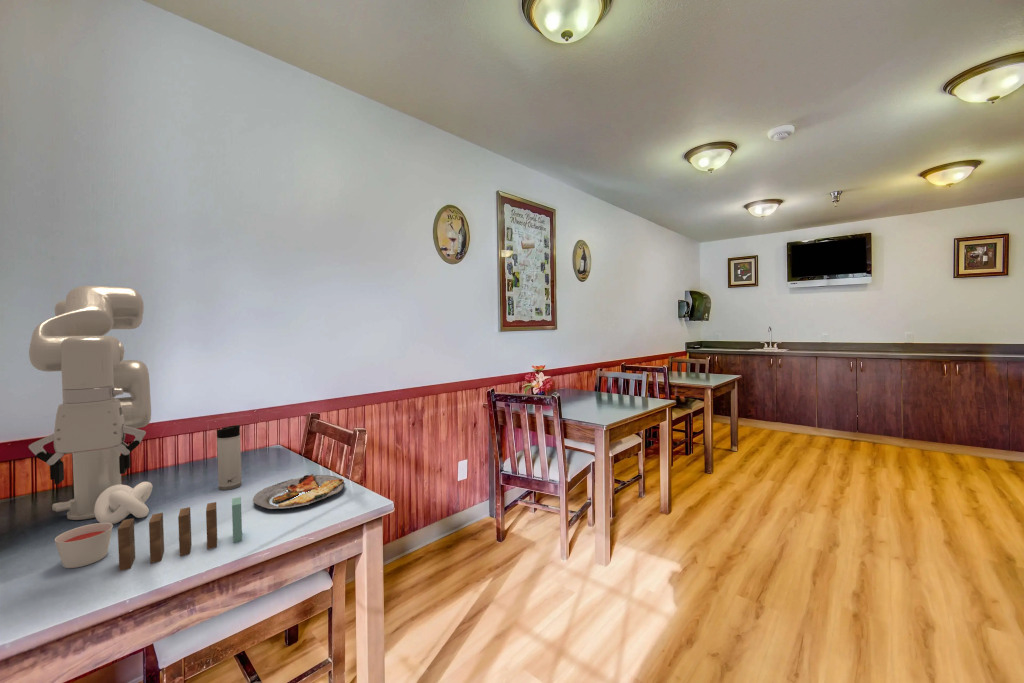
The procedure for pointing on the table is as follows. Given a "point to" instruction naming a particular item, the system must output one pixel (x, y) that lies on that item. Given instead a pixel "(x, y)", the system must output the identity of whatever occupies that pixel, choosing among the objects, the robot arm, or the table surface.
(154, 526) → the domino
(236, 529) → the domino
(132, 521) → the domino
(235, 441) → the travel mug
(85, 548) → the candle
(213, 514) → the domino
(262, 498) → the food plate
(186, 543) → the domino
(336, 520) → the table surface
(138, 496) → the white knot
